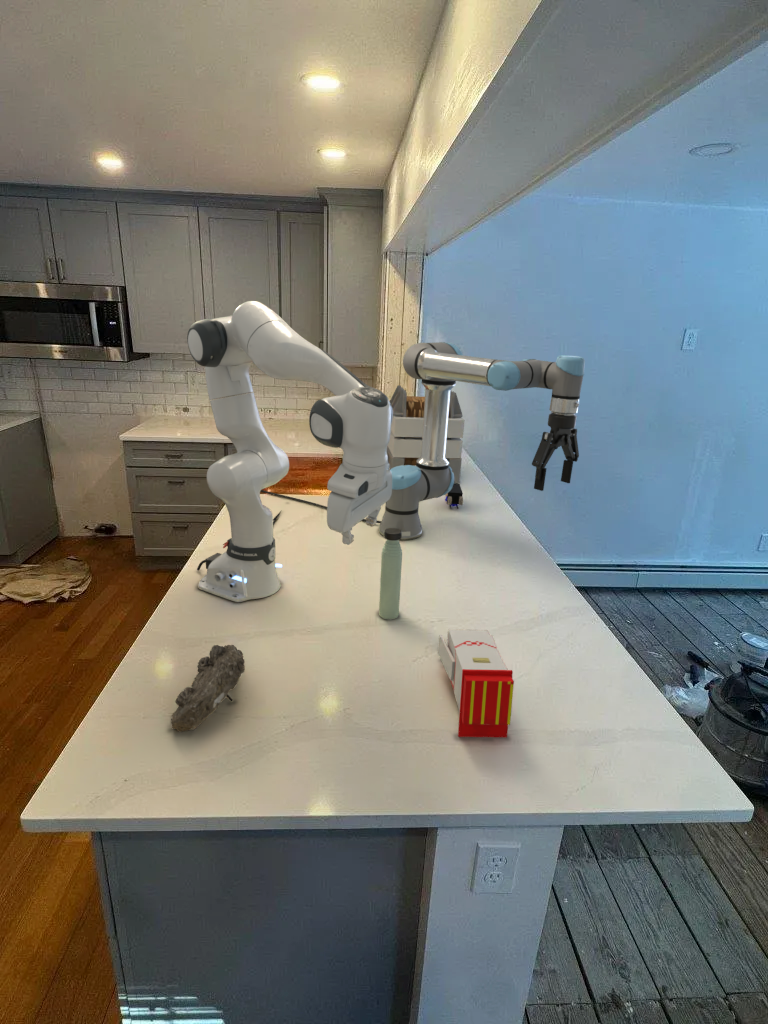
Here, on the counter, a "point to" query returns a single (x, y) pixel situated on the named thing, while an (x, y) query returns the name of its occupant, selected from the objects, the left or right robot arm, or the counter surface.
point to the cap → (392, 534)
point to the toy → (478, 682)
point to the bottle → (390, 580)
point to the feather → (275, 518)
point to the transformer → (421, 431)
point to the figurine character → (454, 496)
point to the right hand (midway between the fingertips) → (552, 485)
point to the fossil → (208, 687)
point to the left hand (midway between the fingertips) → (359, 533)
